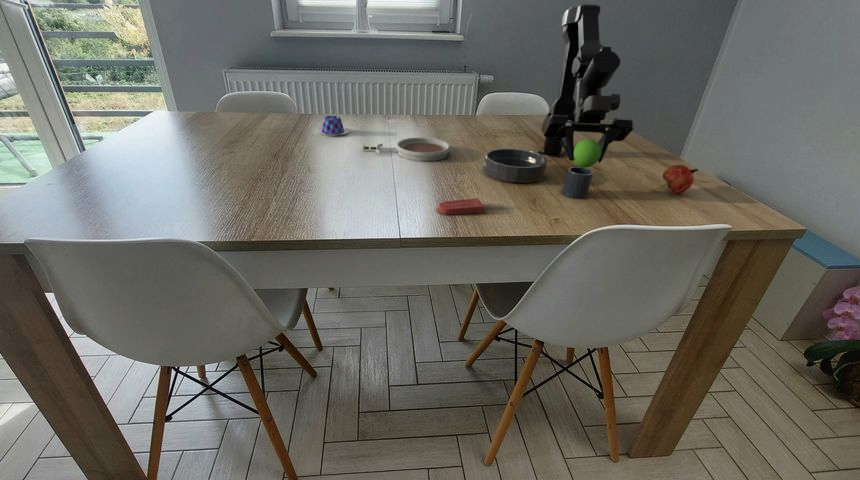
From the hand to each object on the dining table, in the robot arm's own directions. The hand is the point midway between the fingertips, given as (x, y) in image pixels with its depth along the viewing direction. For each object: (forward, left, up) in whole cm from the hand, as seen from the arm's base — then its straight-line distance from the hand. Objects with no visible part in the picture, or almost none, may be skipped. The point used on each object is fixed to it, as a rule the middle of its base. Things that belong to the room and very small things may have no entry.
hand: (585, 160), depth 96 cm
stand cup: (-1, -1, -9) cm, 9 cm away
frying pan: (-1, -53, -9) cm, 53 cm away
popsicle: (+24, -17, -9) cm, 30 cm away
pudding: (-3, -86, -9) cm, 86 cm away
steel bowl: (-5, -19, -9) cm, 21 cm away
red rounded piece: (-18, +18, -9) cm, 27 cm away
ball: (-1, -1, +1) cm, 2 cm away
